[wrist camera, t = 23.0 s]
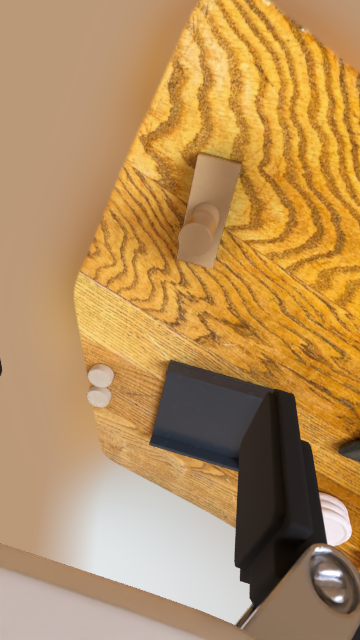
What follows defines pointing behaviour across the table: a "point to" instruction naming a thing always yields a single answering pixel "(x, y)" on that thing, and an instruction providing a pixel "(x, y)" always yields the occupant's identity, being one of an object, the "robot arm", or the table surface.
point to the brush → (207, 209)
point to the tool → (351, 450)
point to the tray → (205, 414)
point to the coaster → (335, 520)
